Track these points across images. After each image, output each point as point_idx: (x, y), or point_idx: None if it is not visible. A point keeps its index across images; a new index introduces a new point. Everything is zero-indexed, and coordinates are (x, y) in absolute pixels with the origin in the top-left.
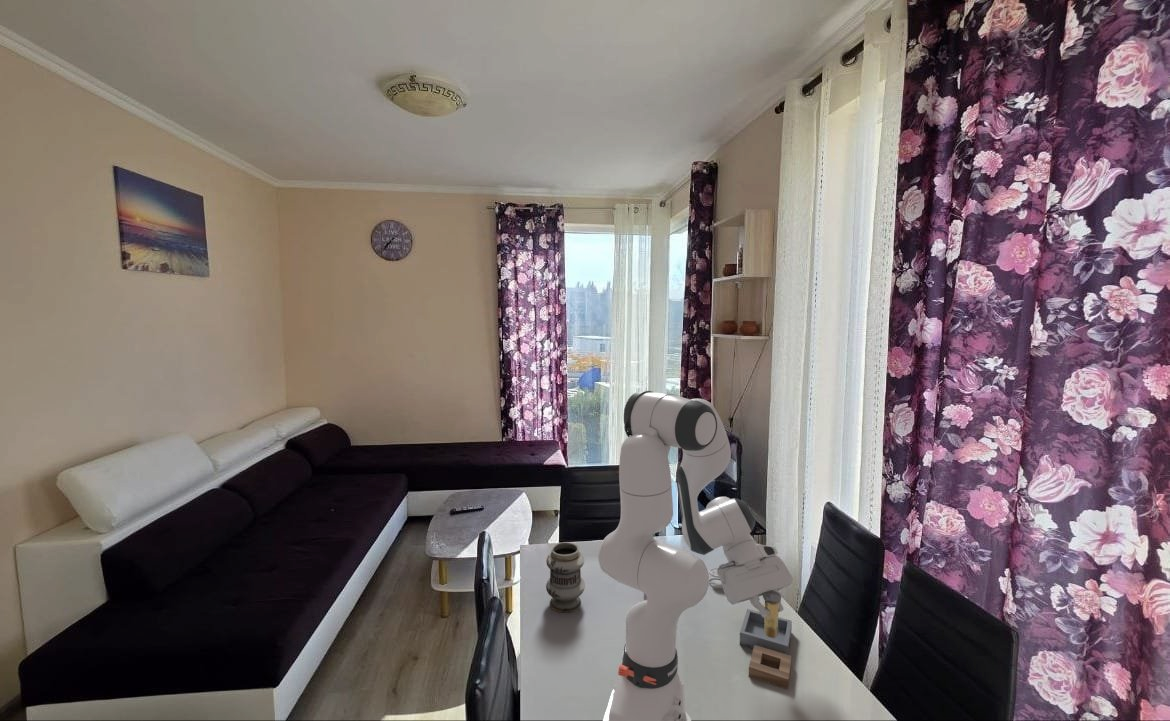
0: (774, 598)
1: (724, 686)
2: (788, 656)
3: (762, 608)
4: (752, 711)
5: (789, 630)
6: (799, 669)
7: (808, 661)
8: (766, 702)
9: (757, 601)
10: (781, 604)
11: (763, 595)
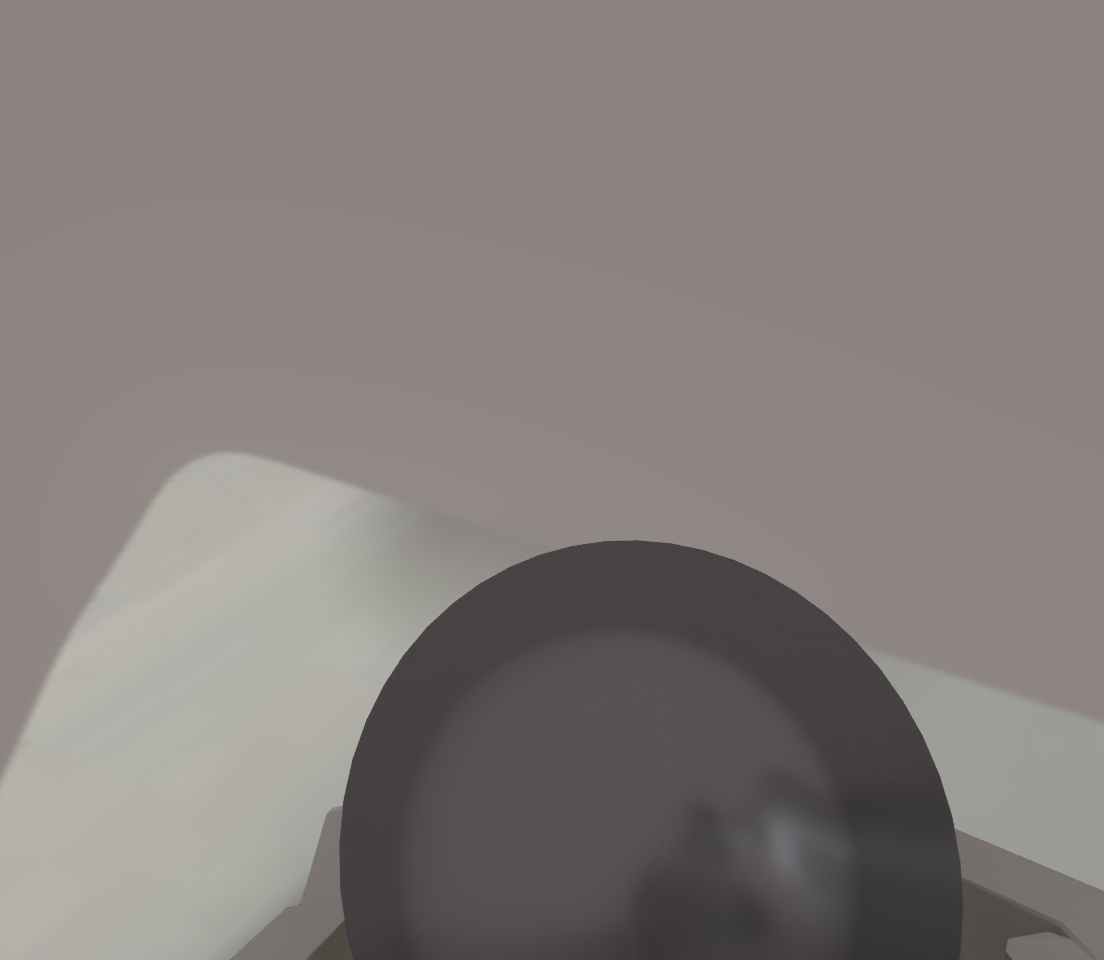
0: (708, 599)
1: None
2: None
3: None
4: (891, 656)
5: None
6: (295, 875)
7: (131, 935)
8: None
9: (1100, 918)
10: (315, 863)
11: (945, 923)
